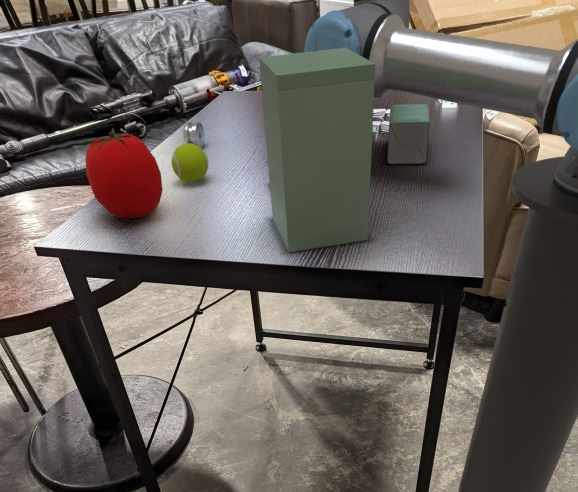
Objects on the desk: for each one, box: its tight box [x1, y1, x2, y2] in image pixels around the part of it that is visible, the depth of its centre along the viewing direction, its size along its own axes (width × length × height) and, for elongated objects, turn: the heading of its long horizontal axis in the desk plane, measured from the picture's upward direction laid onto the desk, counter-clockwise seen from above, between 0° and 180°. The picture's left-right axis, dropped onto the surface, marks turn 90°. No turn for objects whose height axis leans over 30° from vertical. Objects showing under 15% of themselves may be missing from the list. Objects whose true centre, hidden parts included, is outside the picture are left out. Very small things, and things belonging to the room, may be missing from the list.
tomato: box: [85, 127, 164, 220], centre depth 85 cm, size 12×12×13 cm
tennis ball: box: [171, 143, 209, 183], centre depth 97 cm, size 7×7×7 cm
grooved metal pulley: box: [183, 121, 206, 149], centre depth 113 cm, size 5×3×5 cm, turn 166°
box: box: [387, 103, 431, 165], centre depth 102 cm, size 7×14×8 cm, turn 171°
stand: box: [258, 48, 375, 253], centre depth 73 cm, size 12×12×22 cm
